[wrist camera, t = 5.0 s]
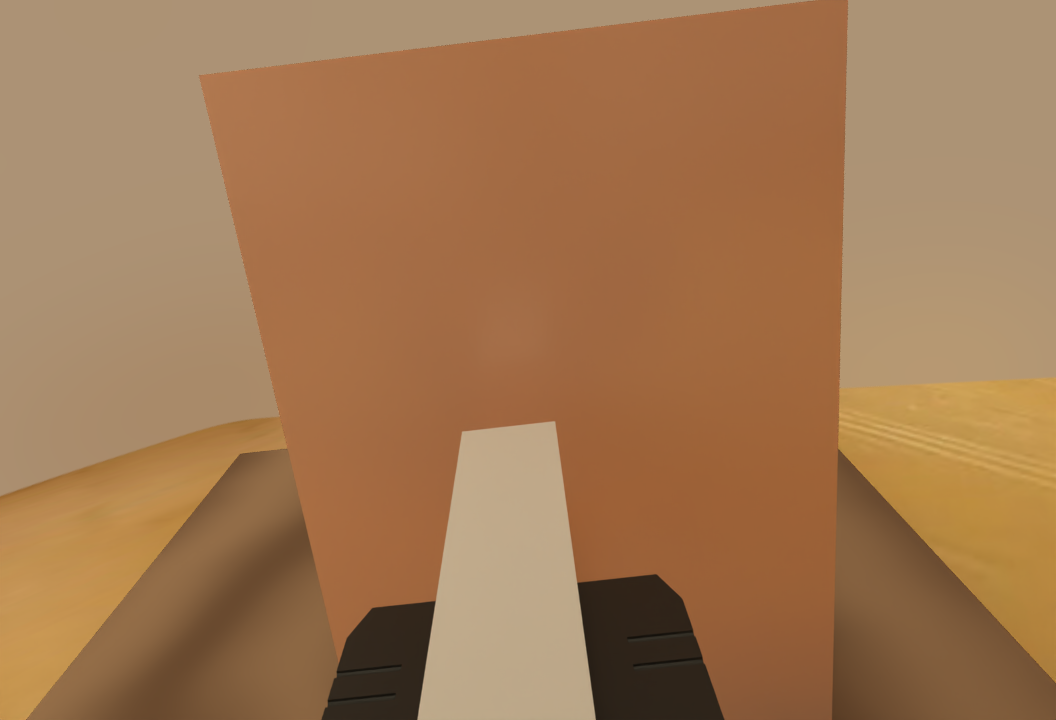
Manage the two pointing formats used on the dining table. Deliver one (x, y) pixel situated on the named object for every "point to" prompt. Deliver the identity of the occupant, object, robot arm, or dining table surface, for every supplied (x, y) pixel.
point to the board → (311, 663)
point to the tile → (567, 309)
